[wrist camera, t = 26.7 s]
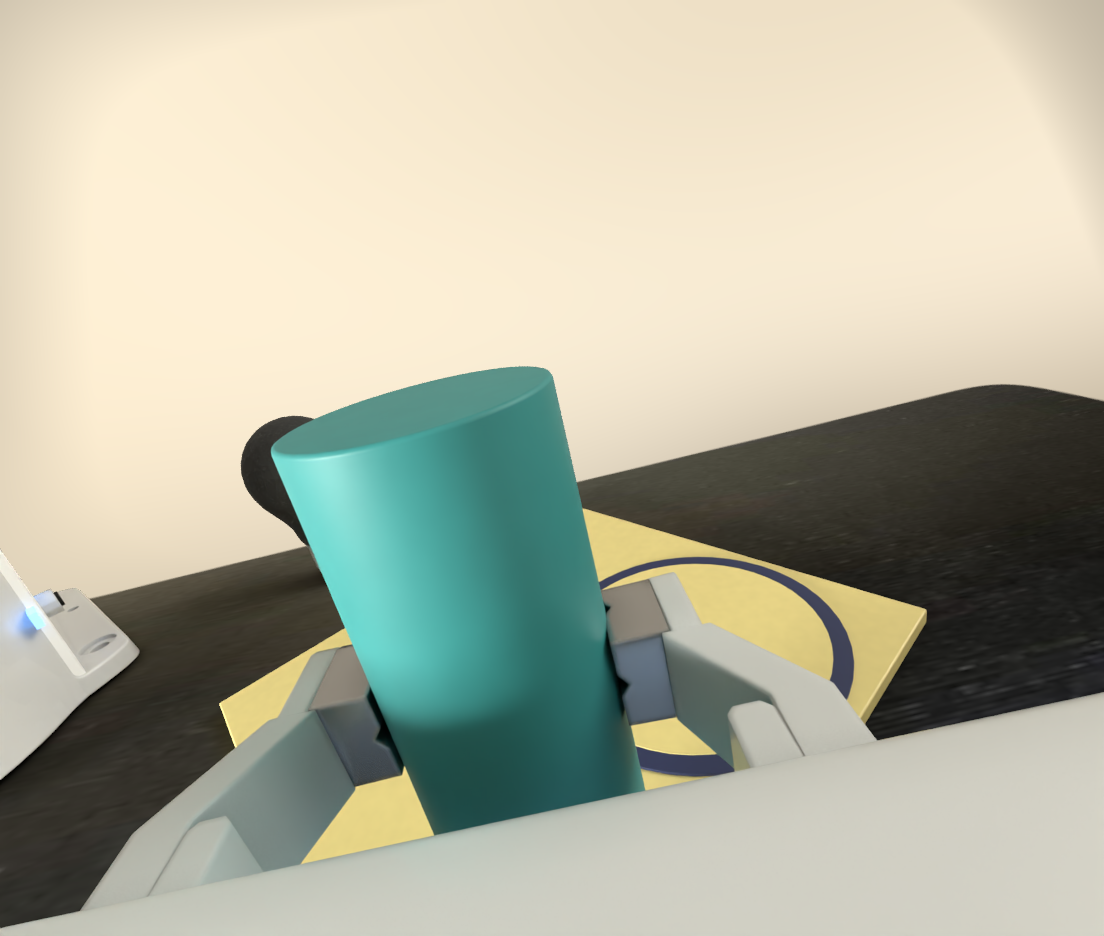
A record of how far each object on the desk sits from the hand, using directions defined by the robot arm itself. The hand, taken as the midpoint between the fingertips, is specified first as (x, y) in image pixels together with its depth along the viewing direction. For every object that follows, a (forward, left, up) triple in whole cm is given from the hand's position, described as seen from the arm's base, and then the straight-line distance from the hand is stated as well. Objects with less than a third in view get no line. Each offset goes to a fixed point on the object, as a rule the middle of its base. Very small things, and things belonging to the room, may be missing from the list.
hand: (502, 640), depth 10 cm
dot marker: (+1, -1, -7) cm, 7 cm away
